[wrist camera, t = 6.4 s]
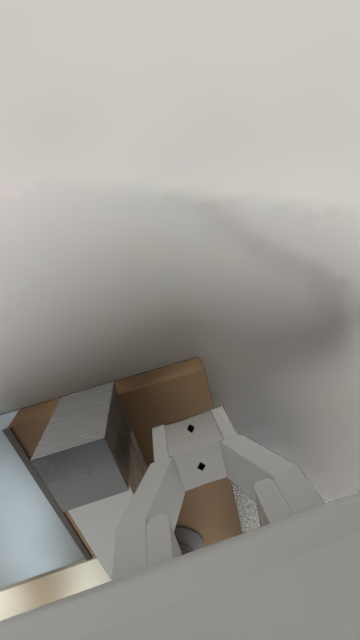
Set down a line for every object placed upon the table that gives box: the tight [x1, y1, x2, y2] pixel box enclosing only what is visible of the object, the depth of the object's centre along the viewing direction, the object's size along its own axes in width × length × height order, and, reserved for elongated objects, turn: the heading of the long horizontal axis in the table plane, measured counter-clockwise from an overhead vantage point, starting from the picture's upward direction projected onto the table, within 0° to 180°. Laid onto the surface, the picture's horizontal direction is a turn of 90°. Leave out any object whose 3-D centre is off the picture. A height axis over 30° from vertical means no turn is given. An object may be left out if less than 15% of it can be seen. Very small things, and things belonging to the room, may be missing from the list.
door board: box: [0, 357, 242, 621], centre depth 14 cm, size 20×20×1 cm
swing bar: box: [30, 382, 193, 580], centre depth 11 cm, size 15×4×3 cm, turn 13°
